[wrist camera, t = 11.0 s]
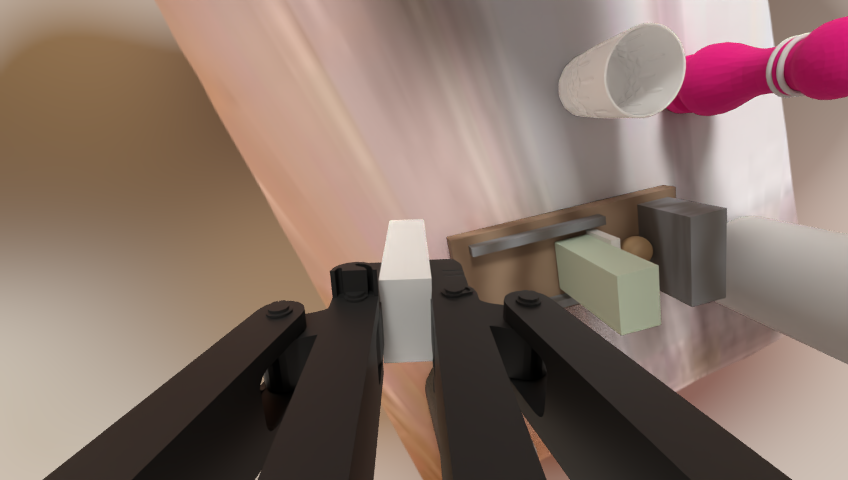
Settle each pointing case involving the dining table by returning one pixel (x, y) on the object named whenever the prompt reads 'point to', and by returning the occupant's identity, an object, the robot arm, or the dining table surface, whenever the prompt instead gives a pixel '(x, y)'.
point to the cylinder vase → (790, 280)
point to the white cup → (625, 75)
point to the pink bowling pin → (766, 71)
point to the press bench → (618, 216)
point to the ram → (610, 281)
